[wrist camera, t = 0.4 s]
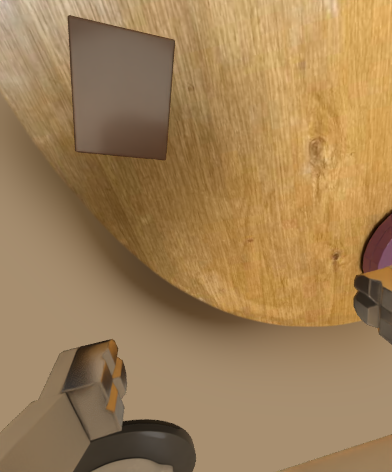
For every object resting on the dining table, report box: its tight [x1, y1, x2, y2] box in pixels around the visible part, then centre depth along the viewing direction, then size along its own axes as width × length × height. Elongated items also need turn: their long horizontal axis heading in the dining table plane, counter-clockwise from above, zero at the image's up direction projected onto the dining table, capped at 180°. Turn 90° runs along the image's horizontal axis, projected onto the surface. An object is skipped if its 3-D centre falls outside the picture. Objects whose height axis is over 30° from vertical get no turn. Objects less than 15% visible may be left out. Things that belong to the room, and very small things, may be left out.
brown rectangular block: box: [68, 15, 175, 160], centre depth 16 cm, size 6×4×13 cm
